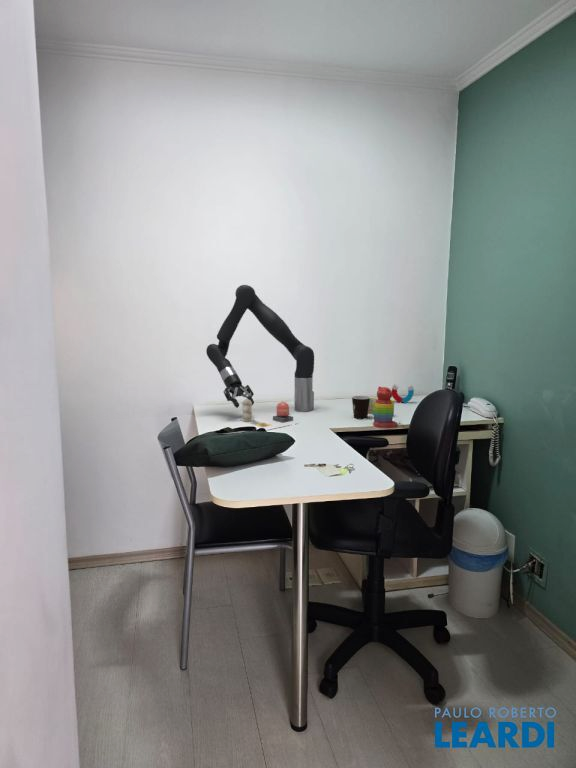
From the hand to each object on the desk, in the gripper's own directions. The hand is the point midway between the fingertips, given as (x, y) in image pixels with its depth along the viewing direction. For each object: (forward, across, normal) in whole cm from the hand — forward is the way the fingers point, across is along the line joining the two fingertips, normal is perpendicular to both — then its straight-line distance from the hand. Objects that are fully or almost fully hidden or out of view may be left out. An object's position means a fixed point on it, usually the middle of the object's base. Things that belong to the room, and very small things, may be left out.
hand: (245, 405), depth 260 cm
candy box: (+28, +59, -16) cm, 67 cm away
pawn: (+6, 0, +4) cm, 7 cm away
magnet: (+20, +92, -9) cm, 95 cm away
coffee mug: (+26, +48, -15) cm, 57 cm away
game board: (+11, +4, 0) cm, 12 cm away
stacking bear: (+39, +43, -28) cm, 64 cm away
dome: (+11, +13, -6) cm, 18 cm away
